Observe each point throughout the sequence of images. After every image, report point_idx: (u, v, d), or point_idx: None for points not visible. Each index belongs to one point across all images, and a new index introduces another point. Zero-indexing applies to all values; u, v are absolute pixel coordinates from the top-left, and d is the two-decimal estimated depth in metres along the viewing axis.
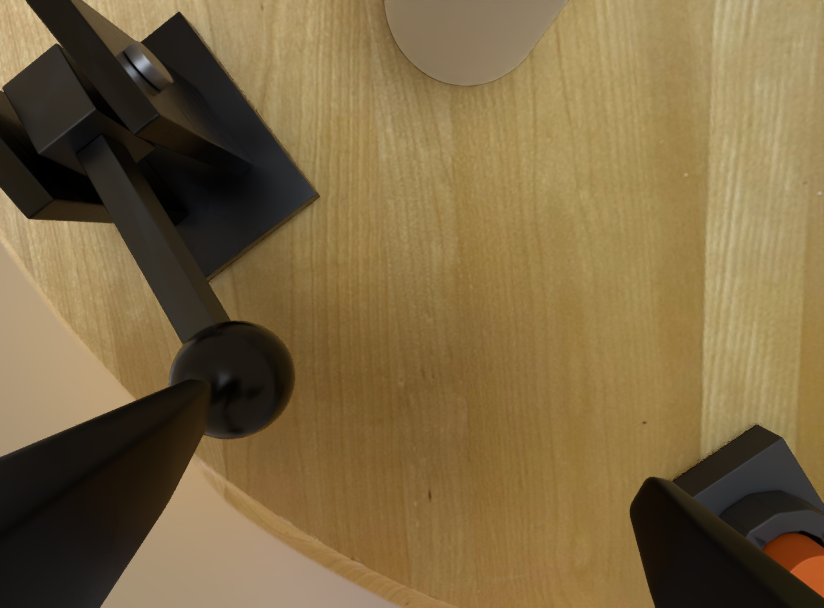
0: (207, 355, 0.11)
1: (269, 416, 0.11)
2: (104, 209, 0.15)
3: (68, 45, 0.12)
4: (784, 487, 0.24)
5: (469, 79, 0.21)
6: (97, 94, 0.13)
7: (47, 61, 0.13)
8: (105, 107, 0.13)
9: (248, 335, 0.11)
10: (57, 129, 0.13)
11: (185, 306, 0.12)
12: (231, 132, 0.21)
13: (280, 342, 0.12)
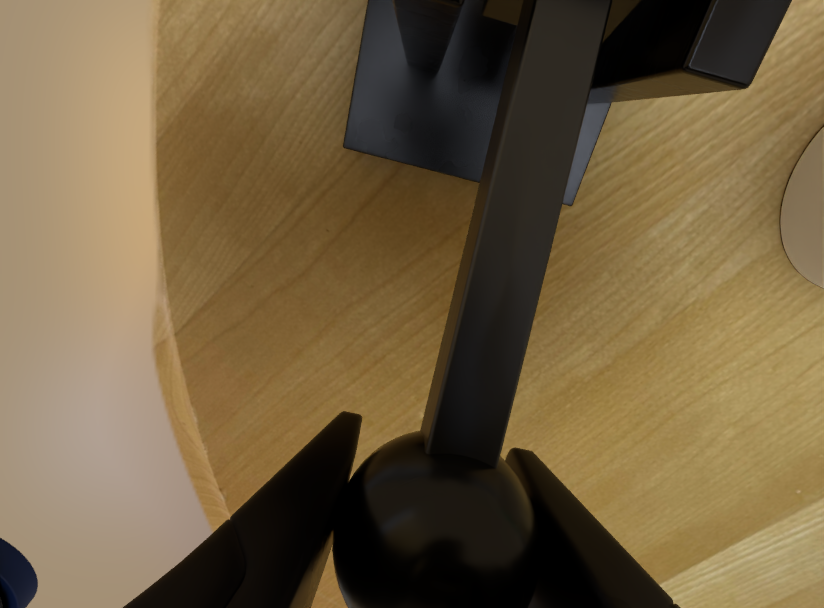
0: (490, 574, 0.05)
1: None
2: (438, 38, 0.08)
3: None
4: None
5: (809, 266, 0.16)
6: None
7: None
8: None
9: (537, 551, 0.06)
10: None
11: (482, 401, 0.06)
12: None
13: None
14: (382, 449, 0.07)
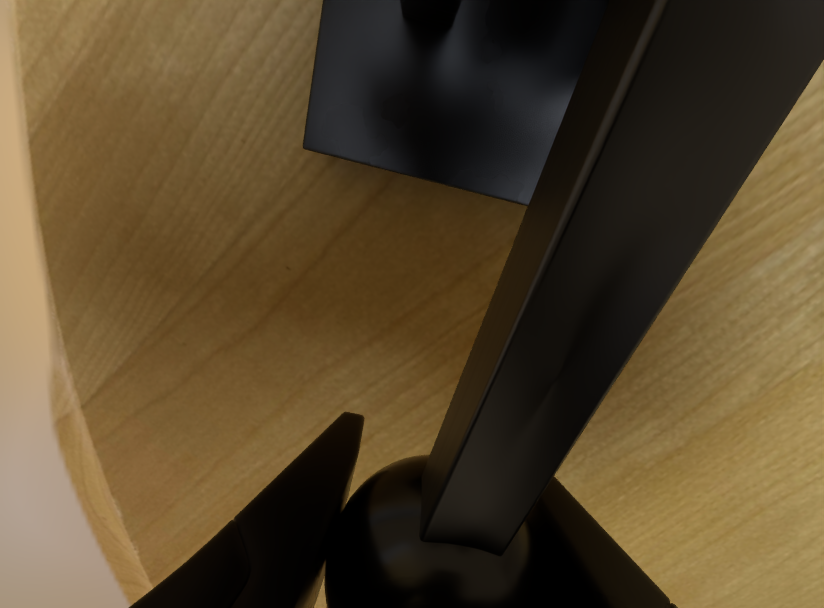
0: None
1: None
2: None
3: None
4: None
5: None
6: None
7: None
8: None
9: None
10: None
11: (492, 508, 0.05)
12: None
13: None
14: (375, 502, 0.06)
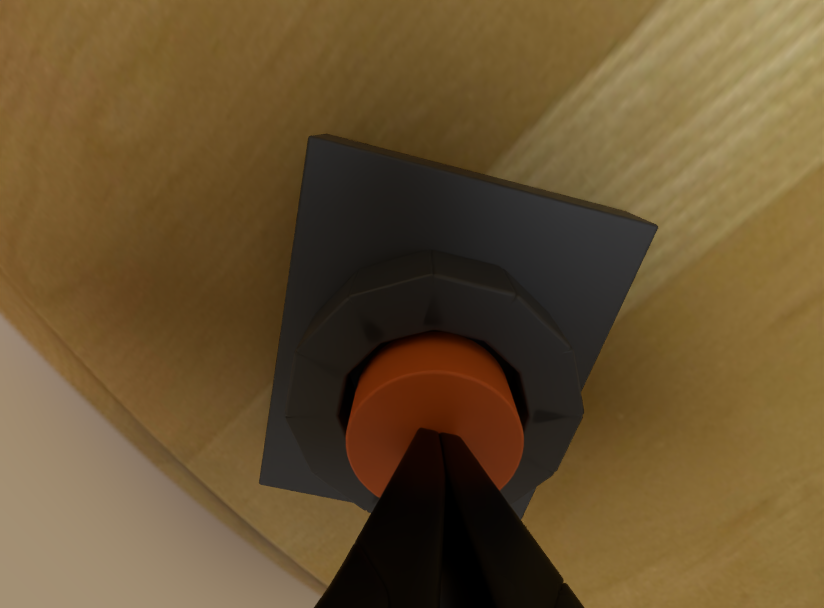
0: None
1: None
2: None
3: None
4: (559, 317, 0.11)
5: None
6: None
7: None
8: None
9: None
10: None
11: None
12: None
13: None
14: None
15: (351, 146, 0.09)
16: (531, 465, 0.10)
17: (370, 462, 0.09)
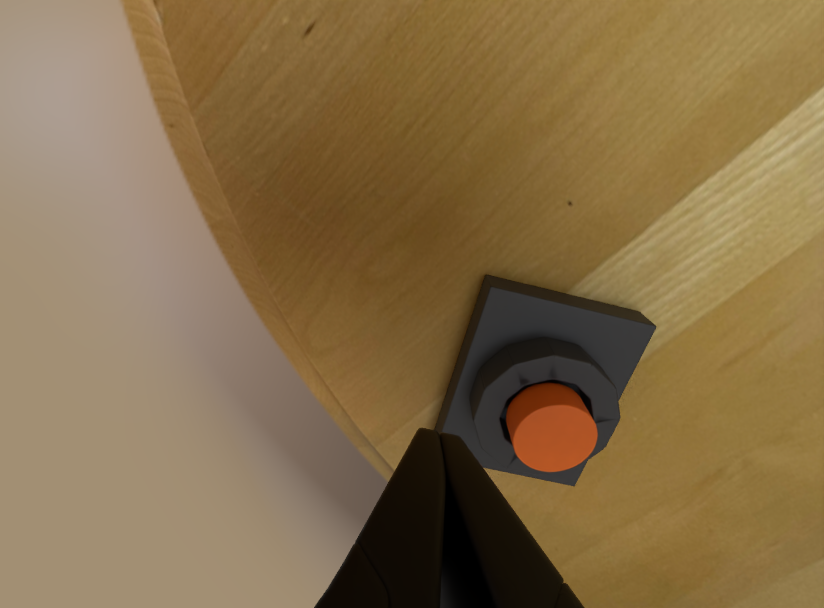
0: None
1: None
2: None
3: None
4: (606, 368, 0.21)
5: None
6: None
7: None
8: None
9: None
10: None
11: None
12: None
13: None
14: None
15: (510, 290, 0.20)
16: None
17: (524, 446, 0.19)
